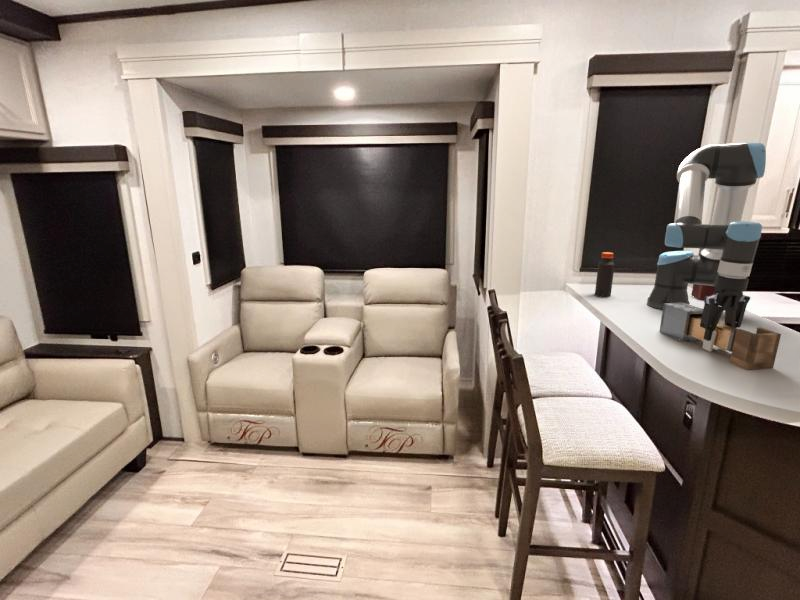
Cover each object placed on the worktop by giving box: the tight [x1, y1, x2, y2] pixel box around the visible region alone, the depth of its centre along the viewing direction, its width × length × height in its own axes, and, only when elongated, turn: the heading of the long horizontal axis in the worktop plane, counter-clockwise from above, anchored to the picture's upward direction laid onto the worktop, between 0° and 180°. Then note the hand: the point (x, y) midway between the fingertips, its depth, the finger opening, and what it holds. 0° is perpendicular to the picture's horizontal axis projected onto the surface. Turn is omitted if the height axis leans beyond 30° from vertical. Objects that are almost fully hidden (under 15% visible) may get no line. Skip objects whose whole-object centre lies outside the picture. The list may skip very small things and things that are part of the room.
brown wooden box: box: [729, 327, 782, 371], centre depth 115 cm, size 8×6×10 cm
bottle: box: [594, 251, 615, 298], centre depth 192 cm, size 7×7×20 cm
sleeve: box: [659, 302, 704, 342], centre depth 139 cm, size 7×10×10 cm
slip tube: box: [687, 314, 738, 353], centre depth 130 cm, size 4×20×6 cm, turn 9°
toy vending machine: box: [690, 248, 716, 301], centre depth 185 cm, size 9×11×28 cm
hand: (714, 349), depth 128 cm, fingers open, 4 cm apart
